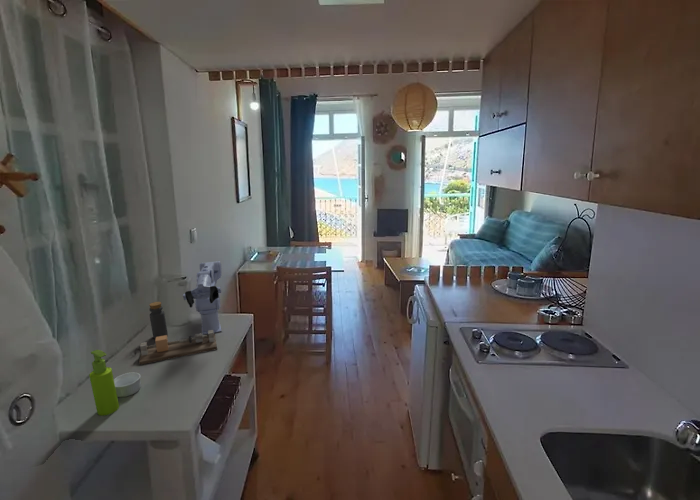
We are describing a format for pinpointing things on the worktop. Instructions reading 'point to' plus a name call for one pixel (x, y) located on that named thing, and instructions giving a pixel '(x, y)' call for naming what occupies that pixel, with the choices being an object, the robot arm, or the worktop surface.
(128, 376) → the ramekin
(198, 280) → the robot arm
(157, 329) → the bottle
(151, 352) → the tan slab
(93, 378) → the soap dispenser
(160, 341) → the sleeve
